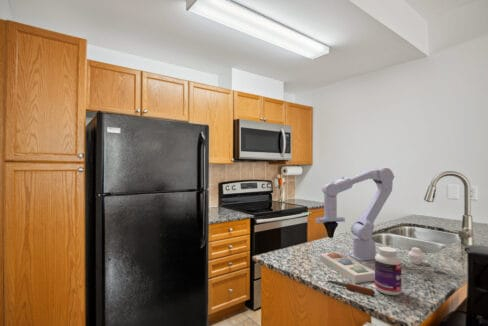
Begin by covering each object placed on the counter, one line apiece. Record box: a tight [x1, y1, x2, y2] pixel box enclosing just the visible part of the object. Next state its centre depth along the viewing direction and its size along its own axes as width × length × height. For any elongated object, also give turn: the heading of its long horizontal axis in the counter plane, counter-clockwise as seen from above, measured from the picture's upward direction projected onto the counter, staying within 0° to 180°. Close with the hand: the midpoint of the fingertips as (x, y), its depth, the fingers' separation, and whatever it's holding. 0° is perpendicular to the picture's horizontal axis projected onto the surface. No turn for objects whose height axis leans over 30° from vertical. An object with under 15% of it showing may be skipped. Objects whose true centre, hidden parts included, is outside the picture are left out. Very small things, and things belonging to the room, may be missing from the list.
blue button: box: [340, 259, 352, 265], centre depth 108 cm, size 4×4×2 cm
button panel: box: [319, 251, 375, 284], centre depth 108 cm, size 10×24×3 cm, turn 15°
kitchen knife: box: [326, 279, 376, 296], centre depth 90 cm, size 16×1×2 cm, turn 56°
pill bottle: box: [374, 246, 403, 296], centre depth 89 cm, size 8×8×14 cm
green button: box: [353, 266, 365, 273], centre depth 100 cm, size 4×4×2 cm
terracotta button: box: [329, 252, 340, 259], centre depth 115 cm, size 4×4×2 cm
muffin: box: [407, 246, 426, 265], centre depth 115 cm, size 6×6×7 cm
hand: (330, 237), depth 122 cm, fingers closed
